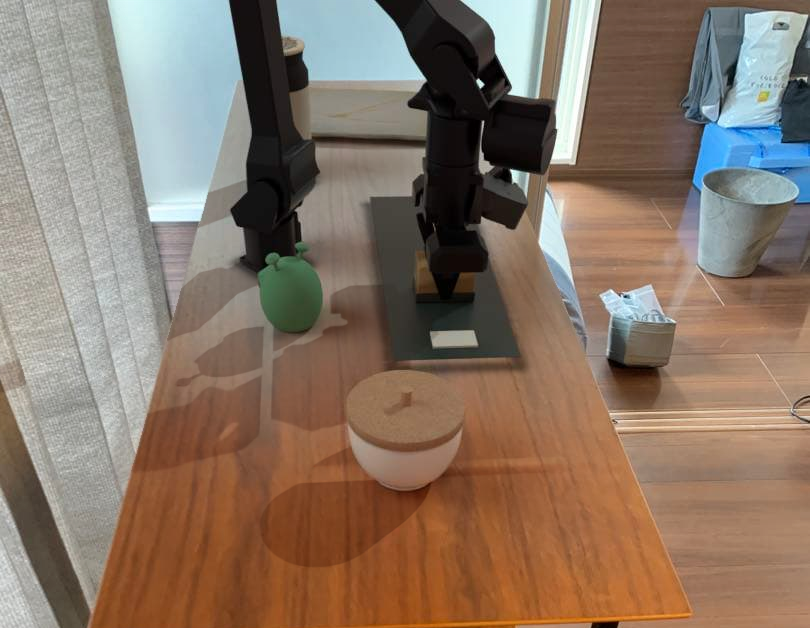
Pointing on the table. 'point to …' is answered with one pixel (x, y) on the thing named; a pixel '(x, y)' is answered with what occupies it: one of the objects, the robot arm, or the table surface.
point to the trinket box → (405, 427)
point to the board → (418, 319)
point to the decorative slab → (365, 114)
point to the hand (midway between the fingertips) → (443, 290)
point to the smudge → (453, 339)
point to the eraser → (427, 287)
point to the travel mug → (298, 84)
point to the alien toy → (290, 291)
